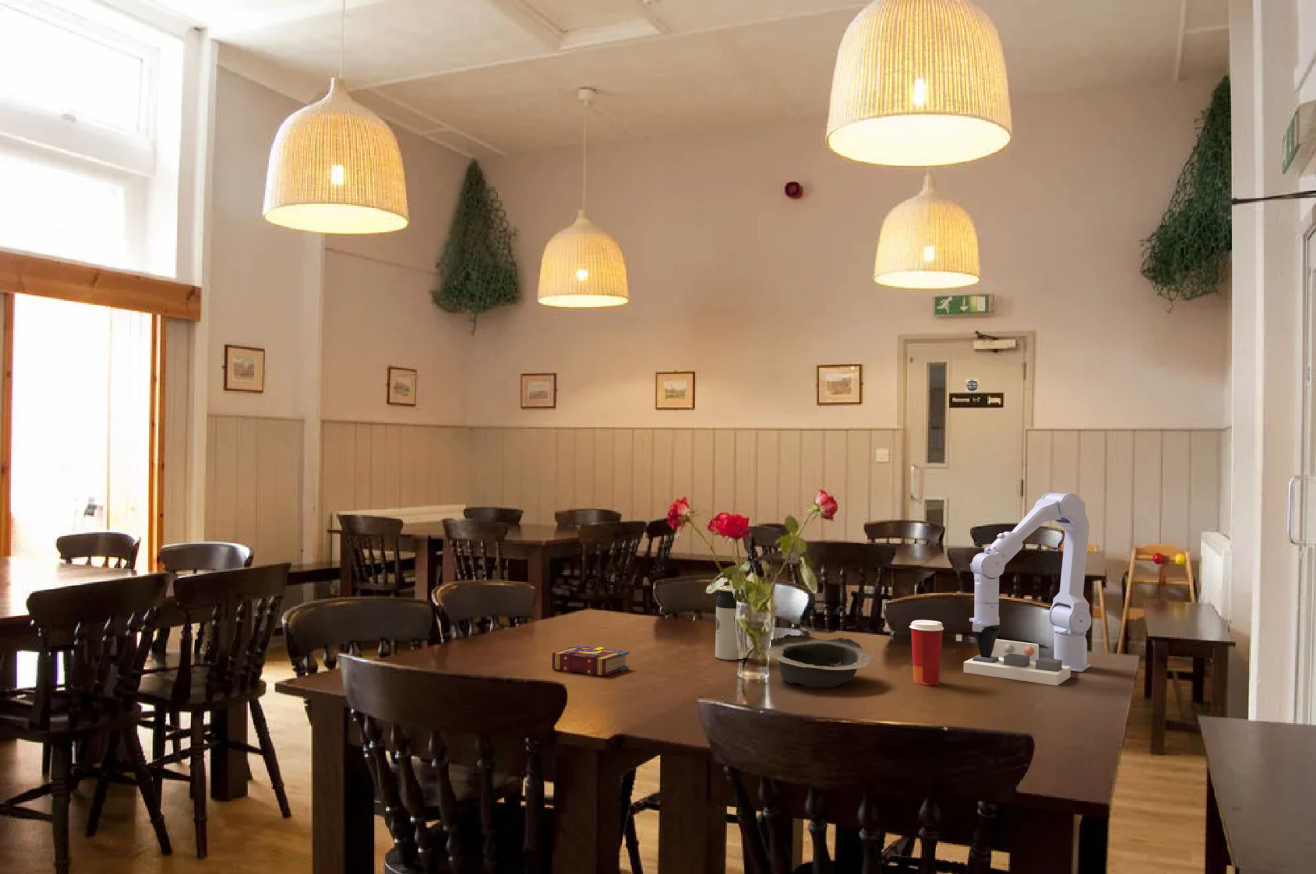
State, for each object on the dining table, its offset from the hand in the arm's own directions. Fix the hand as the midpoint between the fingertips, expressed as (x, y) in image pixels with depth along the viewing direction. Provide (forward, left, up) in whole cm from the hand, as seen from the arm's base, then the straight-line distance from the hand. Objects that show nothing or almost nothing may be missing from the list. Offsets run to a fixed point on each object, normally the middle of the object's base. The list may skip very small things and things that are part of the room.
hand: (985, 657), depth 253 cm
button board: (0, +8, -3) cm, 8 cm away
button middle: (0, +7, -2) cm, 8 cm away
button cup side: (0, +15, -2) cm, 15 cm away
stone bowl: (+38, -26, -4) cm, 46 cm away
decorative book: (+62, -76, -4) cm, 98 cm away
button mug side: (0, 0, -3) cm, 3 cm away
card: (-11, +3, -3) cm, 12 cm away
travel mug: (+28, -56, -3) cm, 63 cm away
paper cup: (+23, -6, -3) cm, 24 cm away
